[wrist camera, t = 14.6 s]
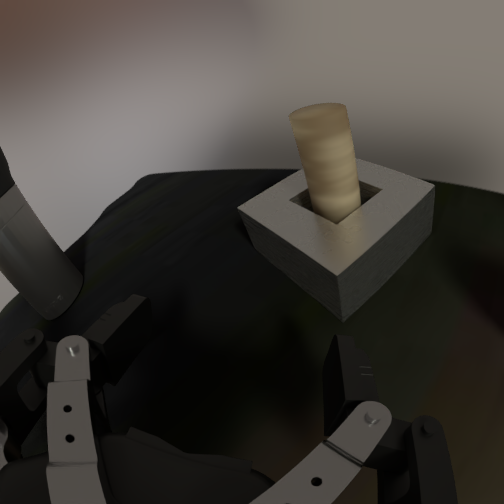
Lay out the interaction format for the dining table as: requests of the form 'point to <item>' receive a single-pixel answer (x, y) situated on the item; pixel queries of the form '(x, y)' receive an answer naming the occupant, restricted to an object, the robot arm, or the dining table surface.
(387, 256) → the socket block
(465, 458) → the dining table surface
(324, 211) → the wooden peg
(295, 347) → the dining table surface
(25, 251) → the robot arm
